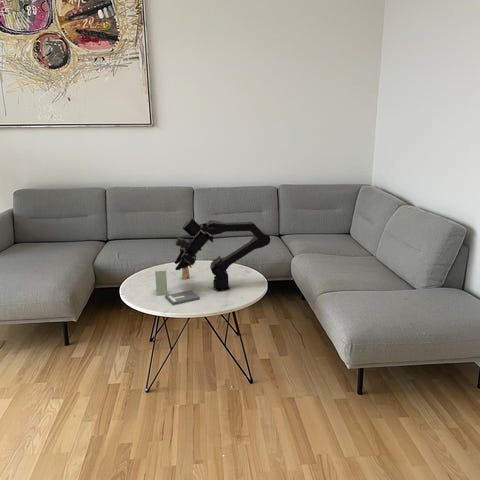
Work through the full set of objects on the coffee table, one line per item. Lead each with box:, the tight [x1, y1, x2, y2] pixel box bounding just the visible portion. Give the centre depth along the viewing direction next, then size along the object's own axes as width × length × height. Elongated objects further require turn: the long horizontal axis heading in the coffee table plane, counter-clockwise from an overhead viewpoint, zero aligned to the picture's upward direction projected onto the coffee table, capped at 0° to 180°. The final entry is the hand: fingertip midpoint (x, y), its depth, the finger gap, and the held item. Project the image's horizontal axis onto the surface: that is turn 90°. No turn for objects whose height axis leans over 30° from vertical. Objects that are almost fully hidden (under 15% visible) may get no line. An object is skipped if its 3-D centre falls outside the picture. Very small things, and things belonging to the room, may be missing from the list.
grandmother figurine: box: [178, 265, 193, 281], centre depth 228 cm, size 8×4×13 cm, turn 141°
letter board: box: [164, 289, 201, 306], centre depth 205 cm, size 13×10×1 cm
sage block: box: [154, 266, 169, 296], centre depth 210 cm, size 5×5×12 cm
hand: (175, 266), depth 209 cm, fingers open, 9 cm apart
